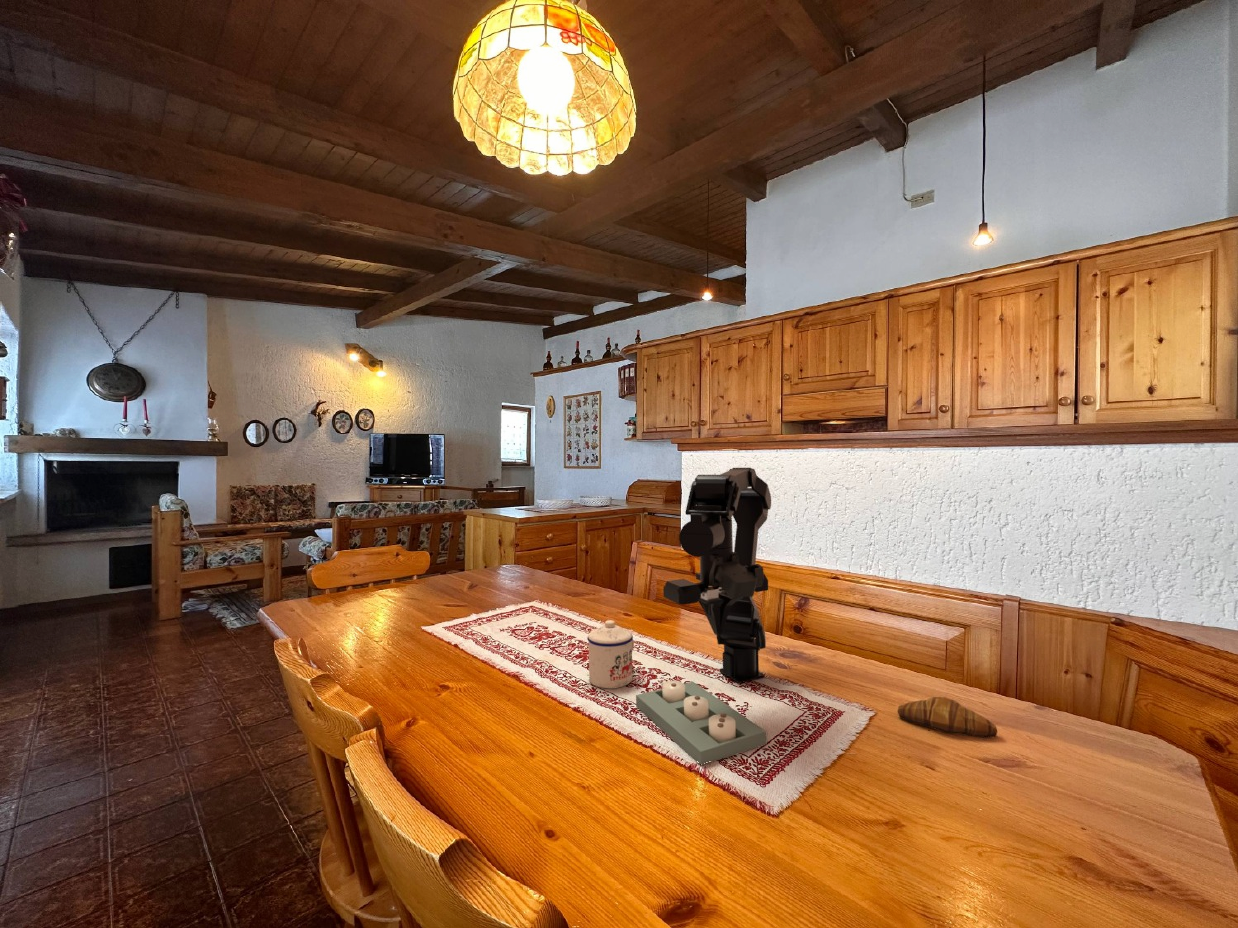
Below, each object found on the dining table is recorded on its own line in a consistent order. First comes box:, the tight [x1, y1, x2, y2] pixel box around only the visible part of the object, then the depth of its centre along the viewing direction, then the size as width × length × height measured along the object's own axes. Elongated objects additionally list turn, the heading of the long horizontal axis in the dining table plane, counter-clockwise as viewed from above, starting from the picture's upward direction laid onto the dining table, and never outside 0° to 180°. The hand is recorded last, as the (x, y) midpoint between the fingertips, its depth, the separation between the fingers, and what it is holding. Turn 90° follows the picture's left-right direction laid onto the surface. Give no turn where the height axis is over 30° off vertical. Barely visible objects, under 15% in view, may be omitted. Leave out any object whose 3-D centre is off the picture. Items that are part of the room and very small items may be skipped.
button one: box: [661, 680, 685, 704], centre depth 91 cm, size 4×4×3 cm
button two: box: [684, 696, 709, 722], centre depth 85 cm, size 4×4×3 cm
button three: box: [709, 713, 736, 744], centre depth 79 cm, size 4×4×3 cm
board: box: [635, 681, 767, 765], centre depth 85 cm, size 12×20×2 cm, turn 26°
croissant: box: [897, 696, 998, 739], centre depth 83 cm, size 14×7×5 cm, turn 60°
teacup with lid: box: [586, 619, 635, 689], centre depth 104 cm, size 12×9×12 cm
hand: (717, 634), depth 90 cm, fingers closed
